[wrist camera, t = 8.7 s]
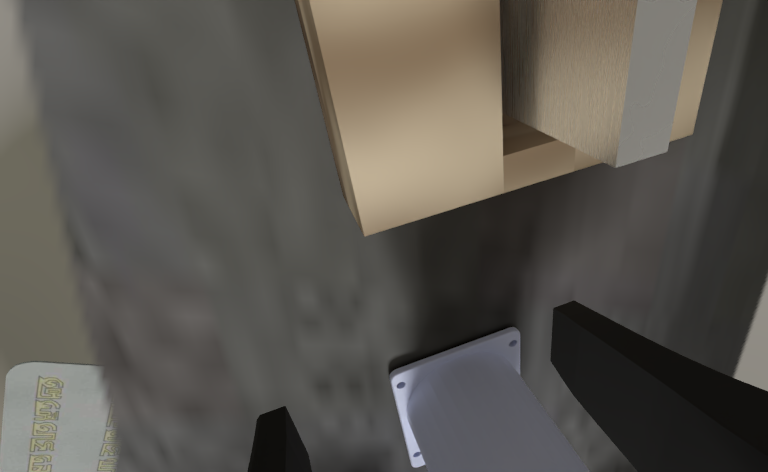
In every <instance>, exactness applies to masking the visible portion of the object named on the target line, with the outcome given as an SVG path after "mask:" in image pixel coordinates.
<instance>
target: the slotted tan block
mask: <svg viewBox="0 0 768 472" xmlns="http://www.w3.org/2000/svg"><path fill="white" fill-rule="evenodd" d="M722 2H723V0H697V5H696V10H695V15H694V20H693V25H692V30H691V35H690V40H689V45H688V50H687V55H686V60H685V65H684V70H683V75H682V80H681V85H680V90H679V95H678V100H677V105H676V110H675V115H674V120H673V125H672V130H671V135H670V141H673V140H676V139H679V138H683V137H686V136H689V135H692V134H693V130H694V126H695V121H696V117H697V113H698V108H699V104H700V99H701V95H702V90H703V86H704V81H705V77H706V73H707V68H708V64H709V59H710V55H711V50H712V46H713V41H714V37H715V33H716V28H717V24H718V19H719V15H720V10H721V6H722ZM295 4H296V8H297V12H298V16H299V20H300V24H301V28H302V32H303V36H304V40H305V44H306V48H307V52H308V56H309V60H310V64H311V68H312V72H313V76H314V80H315V84H316V88H317V92H318V96H319V100H320V104H321V108H322V112H323V116H324V120H325V124H326V128H327V132H328V136H329V140H330V144H331V148H332V152H333V156H334V160H335V164H336V168H337V172H338V176H339V180H340V184H341V188H342V192H343V196H344V198H345V200H346V202H347V204H348V206H349V208H350V210H351V212H352V214H353V215H354V217H355V219H356V221H357V223H358V225H359V227H360V229H361V231H362V233H363V235H364V237H365V236H368V235H371V234H374V233H378V232H381V231H384V230H387V229H390V228H394V227H397V226H400V225H403V224H406V223H410V222H413V221H416V220H419V219H423V218H426V217H429V216H432V215H435V214H439V213H442V212H445V211H448V210H451V209H455V208H458V207H461V206H464V205H467V204H471V203H474V202H477V201H480V200H484V199H487V198H490V197H493V196H496V195H500V194H503V193H506V192H509V191H512V190H516V189H519V188H522V187H525V186H529V185H532V184H535V183H538V182H541V181H545V180H548V179H551V178H554V177H557V176H561V175H564V174H567V173H570V172H573V171H577V170H580V169H583V168H586V167H590V166H593V165H596V164H599V163H602V161H600V160H598V159H596V158H594V157H592V156H590V155H588V154H586V153H584V152H582V151H580V150H578V149H576V148H574V147H572V146H570V145H568V144H566V143H563V142H561V141H559V140H557V139H555V138H553V137H551V136H549V135H547V134H545V133H543V132H541V131H539V130H537V129H535V128H533V127H531V126H529V125H526V124H524V123H522V122H520V121H518V120H516V119H514V118H512V117H510V116H508V115H506V114H504V113H502V84H501V39H500V0H295ZM670 141H669V142H670Z"/></svg>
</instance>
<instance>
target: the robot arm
mask: <svg viewBox="0 0 768 472" xmlns="http://www.w3.org/2000/svg"><path fill="white" fill-rule="evenodd" d="M551 362H552V364H553V365H554V367H555V368H556V370H557V371H558V373H559V374H560V376H561V378H562V379H563V381H564V382H565V384H566V385H567V386H568V388H569V389H570V391H571V392H572V394H573V395H574V396H575V398H576V399H577V400H578V401H579V402H580V404H581V405H582V406H583V407H584V408H585V410H586V411H587V412H588V413H589V414H590V416H591V417H592V418H593V419H594V420H595V422H596V423H597V424H598V425H599V426H600V427H601V429H602V430H603V431H604V432H605V433H606V435H607V436H608V437H609V438H610V439H611V440H612V442H613V443H614V444H615V445H616V446H617V447H618V449H619V450H620V451H621V452H622V453H623V455H624V456H625V457H626V458H627V459H628V460H629V462H630V463H631V464H632V465H633V466H634V468H635V469H636V470H637V471H638V472H768V391H765V390H762V389H760V388H757V387H755V386H752V385H750V384H747V383H744V382H742V381H739V380H737V379H734V378H732V377H730V376H727V375H725V374H722V373H720V372H718V371H715V370H713V369H711V368H709V367H706V366H704V365H702V364H700V363H697V362H695V361H693V360H691V359H688V358H686V357H684V356H682V355H680V354H678V353H676V352H674V351H671V350H669V349H667V348H665V347H663V346H661V345H659V344H657V343H655V342H653V341H651V340H649V339H647V338H645V337H643V336H641V335H639V334H637V333H635V332H633V331H631V330H629V329H627V328H626V327H624V326H622V325H620V324H618V323H616V322H614V321H612V320H610V319H608V318H606V317H605V316H603V315H601V314H599V313H597V312H595V311H593V310H591V309H589V308H587V307H585V306H584V305H582V304H580V303H578V302H576V301H572V302H569V303H566V304H563V305H561V306H558V307H555V308H554V309H553V327H552V345H551ZM389 378H390V382H391V386H392V390H393V394H394V398H395V402H396V407H397V411H398V415H399V419H400V423H401V427H402V431H403V435H404V439H405V443H406V447H407V451H408V455H409V459H410V462H411V465H412V466H413V467H420V466H423V465H426V467H427V470H428V472H590V471H589V469H588V468H587V467H586V465H585V464H584V463H583V461H582V460H581V458H580V457H579V456H578V454H577V453H576V452H575V450H574V449H573V448H572V446H571V445H570V443H569V442H568V441H567V439H566V438H565V437H564V435H563V434H562V432H561V431H560V430H559V428H558V427H557V426H556V424H555V423H554V422H553V420H552V419H551V417H550V416H549V415H548V413H547V412H546V411H545V409H544V408H543V407H542V405H541V404H540V402H539V401H538V400H537V398H536V397H535V396H534V394H533V393H532V391H531V390H530V389H529V387H528V386H527V385H526V383H525V382H524V381H523V379H522V378H521V376H520V332H519V331H518V329H517V328H515V327H510V328H507V329H504V330H501V331H499V332H496V333H493V334H490V335H488V336H485V337H482V338H479V339H477V340H474V341H471V342H468V343H466V344H463V345H460V346H458V347H455V348H452V349H449V350H447V351H444V352H441V353H438V354H436V355H433V356H430V357H428V358H425V359H422V360H419V361H417V362H414V363H411V364H408V365H406V366H403V367H400V368H397V369H395V370H393V371H392V372H391V374H390V375H389ZM248 472H312V470H311V465H310V460H309V456H308V453H307V451H306V448H305V446H304V444H303V442H302V440H301V438H300V436H299V434H298V432H297V429H296V427H295V425H294V423H293V421H292V419H291V417H290V415H289V412H288V410H287V408H286V406H284V407H281V408H278V409H276V410H273V411H270V412H267V413H265V414H262V415H260V416H259V418H258V419H257V423H256V430H255V436H254V442H253V448H252V453H251V458H250V463H249V467H248Z"/></svg>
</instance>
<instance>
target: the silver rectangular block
mask: <svg viewBox="0 0 768 472" xmlns="http://www.w3.org/2000/svg"><path fill="white" fill-rule="evenodd" d="M696 5H697V0H500V39H501V84H502V113H504V114H506V115H508V116H510V117H512V118H514V119H516V120H518V121H520V122H522V123H524V124H526V125H529V126H531V127H533V128H535V129H537V130H539V131H541V132H543V133H545V134H547V135H549V136H551V137H553V138H555V139H557V140H559V141H561V142H563V143H566V144H568V145H570V146H572V147H574V148H576V149H578V150H580V151H582V152H584V153H586V154H588V155H590V156H592V157H594V158H596V159H598V160H600V161H602V162H605V163H607V164H609V165H611V166H613V167H615V168H617V167H620V166H623V165H626V164H629V163H633V162H636V161H639V160H642V159H645V158H649V157H652V156H655V155H658V154H661V153H665V152H667V151H668V146H669V141H670V135H671V130H672V125H673V120H674V115H675V110H676V105H677V100H678V95H679V90H680V85H681V80H682V75H683V70H684V65H685V60H686V55H687V50H688V45H689V40H690V35H691V30H692V25H693V20H694V15H695V10H696Z"/></svg>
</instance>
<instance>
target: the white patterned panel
mask: <svg viewBox="0 0 768 472" xmlns="http://www.w3.org/2000/svg"><path fill="white" fill-rule="evenodd" d="M114 466H115V450H114V446H113V428H112V425H111V423H110V417H109V408H108V405H107V404H106V400H105V391H104V388H103V386H102V384H101V381H100V375H99V371H98V369H97V367H96V365H95V364H81V363H64V362H48V361H28V362H23V363H19V364H16V365H15V366H13V367H12V368H11V369H10V370H9V372H8V373H7V375H6V382H5V395H4V407H3V420H2V432H1V444H0V472H114Z"/></svg>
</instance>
